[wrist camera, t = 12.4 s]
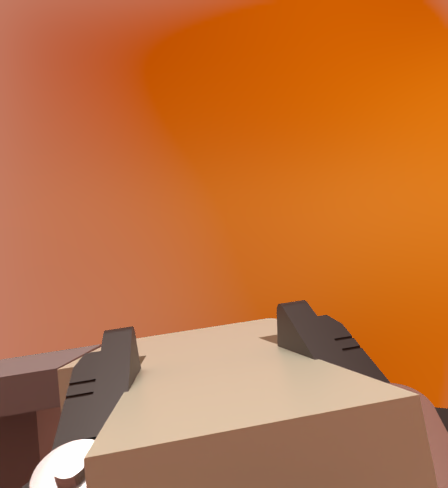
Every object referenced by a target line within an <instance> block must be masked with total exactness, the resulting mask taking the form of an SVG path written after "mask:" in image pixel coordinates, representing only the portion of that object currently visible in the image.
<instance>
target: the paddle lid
mask: <svg viewBox="0 0 448 488" xmlns="http://www.w3.org/2000/svg"><path fill="white" fill-rule="evenodd" d="M136 342H137V347H138V353H139V359H140V365H141V370H140V372H139V373H138V375H137V377H136V379H135V380H134V382H133V384H132V386H131V388H130V389H129V391H128V392H124V393H123V395H122V396H121V398H120V400H119V401H118V403H117V404H116V406H115V408H114V409H113V411H112V413H111V414H110V416H109V418H108V419H107V421H106V422H105V424H104V426H103V427H102V429H101V431H100V432H99V434H98V436H97V437H96V439H95V440H94V442H93V444H92V445H91V447H90V449H89V450H88V452H87V454H86V455H85V457H84V468H85V479H86V488H438V485H437V480H436V475H435V470H434V465H433V460H432V455H431V450H430V445H429V441H428V436H427V431H426V426H425V421H424V416H423V411H422V406H421V401H420V396H419V394H416V393H413V392H411V391H408V390H405V389H402V388H399V387H396V386H394V385H391V384H388V383H385V382H382V381H379V380H377V379H374V378H371V377H368V376H365V375H362V374H360V373H357V372H354V371H351V370H348V369H345V368H343V367H340V366H337V365H334V364H331V363H328V362H326V361H323V360H320V359H317V360H314V359H311V358H309V357H306V356H303V355H300V354H298V353H295V352H292V351H289V350H287V349H284V348H281V347H279V346H278V344H277V319H271V318H267V319H261V320H254V321H248V322H241V323H235V324H229V325H222V326H215V327H209V328H202V329H196V330H190V331H183V332H176V333H170V334H164V335H157V336H150V337H144V338H138V339H136ZM97 351H101V347H100V348H98V349H96V350H94V351H92V352H97ZM90 353H91V352H90ZM81 358H82V357H81ZM81 358H79V359H77V360H75V361H73V362H71V363H69V364H67V365H65V366H63V367H61V368H59V369H58V382H59V394H60V406H61V412H62V409H63V405H64V401H65V400H66V393H67V389H68V386H69V382H70V378H71V374H72V370H73V367H74V366H75V365H76V364H77V363H78V361H79V360H80V359H81Z"/></svg>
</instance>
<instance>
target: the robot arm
mask: <svg viewBox="0 0 448 488" xmlns="http://www.w3.org/2000/svg"><path fill="white" fill-rule="evenodd" d="M277 344H278V346H279V347H281V348H284V349H287V350H289V351H292V352H295V353H298V354H300V355H303V356H306V357H309V358H311V359H314V360H317V359H320V360H323V361H326V362H328V363H331V364H334V365H337V366H340V367H343V368H345V369H348V370H351V371H354V372H357V373H360V374H362V375H365V376H368V377H371V378H374V379H377V380H379V381H382V382H385V383H388V384H391V385H394V386H396V387H399V388H402V389H405V390H408V391H411V392H413V393H416V394H419V396H420V401H421V406H422V411H423V416H424V421H425V426H426V431H427V436H428V441H429V445H430V450H431V455H432V460H433V465H434V470H435V475H436V480H437V485H438V488H448V409H446V408H435V407H434V406H433V404H432V403H431V402H430V401H429V400H428V399H427V398H426V397H425V396H424V395H423V394H421V393H420V392H418V391H416V390H414V389H412V388H410V387H407V386H404V385H400V384H394V383H390V382H389V381H388V379H387V378H386V377H385V376H384V375H383V373H382V372H381V371H380V370H379V368H378V367H377V366H376V365H375V364H374V362H373V361H372V360H371V359H370V357H369V356H368V355H367V354H366V353H365V351H364V350H363V349H362V348H360V345H359V344H358V343H357V342H356V340H355V339H354V338H352V336H351V334H350V333H349V332H348V331H347V329H346V328H345V327H344V326H343V325H342V324H341V323H340V322H338V321H336V320H334V319H333V318H331V317H329V316H327V315H323V316H317V315H316V314H315V313H314V311H313V310H312V309H311V307H310V306H309V304H308V303H307V302H306V301H305V300H302V301H296V302H289V303H282V304H278V307H277ZM140 370H141V365H140V359H139V353H138V347H137V342H136V336H135V331H134V328H133V327H126V328H120V329H113V330H107V331H104V334H103V340H102V346H101V351H97V352H91V353H85V354H84V355H83V356H82V358H81V359H80V360H79V361H78V363H77V364H76V365H75V366H74V367H73V370H72V374H71V378H70V382H69V386H68V389H67V393H66V400H65V401H64V405H63V409H62V412H61V416H60V420H59V424H58V428H57V432H56V436H55V439H54V443H53V447H52V451H51V452H50V453H49V454H48V455H47V456H46V457H44V458H43V459H42V461H41V462H40V463H39V464H38V466H37V467H36V468H35V470H34V472H33V474H32V476H31V480H30V481H29V482H28V483H27V484H25V485H24V486H23V487H21V488H86V479H85V468H84V457H85V455H86V454H87V452H88V450H89V449H90V447H91V445H92V444H93V442H94V440H95V439H96V437H97V436H98V434H99V432H100V431H101V429H102V427H103V426H104V424H105V422H106V421H107V419H108V418H109V416H110V414H111V413H112V411H113V409H114V408H115V406H116V404H117V403H118V401H119V400H120V398H121V396H122V395H123V393H124V392H128V391H129V389H130V388H131V386H132V384H133V382H134V380H135V379H136V377H137V375H138V373H139V372H140Z"/></svg>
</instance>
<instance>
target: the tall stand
mask: <svg viewBox="0 0 448 488" xmlns="http://www.w3.org/2000/svg"><path fill="white" fill-rule="evenodd" d="M100 347H101V345H94V346H88V347H81V348H75V349H68V350H61V351H56V352H48V353H42V354H35V355H29V356H22V357H16V358H9V359H3V360H0V488H21V487H23V486H24V485H25V484H27V483H28V482H29V481H30V480H31V476H32V474H33V472H34V470H35V468H36V467H37V466H38V464H39V463H40V462H41V461H42V459H43V458H44V457H46V456H47V455H48V454H49V453H50V452H51V451H52V447H53V443H54V439H55V436H56V432H57V428H58V424H59V420H60V416H61V406H60V394H59V382H58V369H59V368H61V367H63V366H65V365H67V364H69V363H71V362H73V361H75V360H77V359H79V358H81V357H82V356H83V355H84V354H85V353H90V352H92V351H94V350H96V349H98V348H100Z"/></svg>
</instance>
